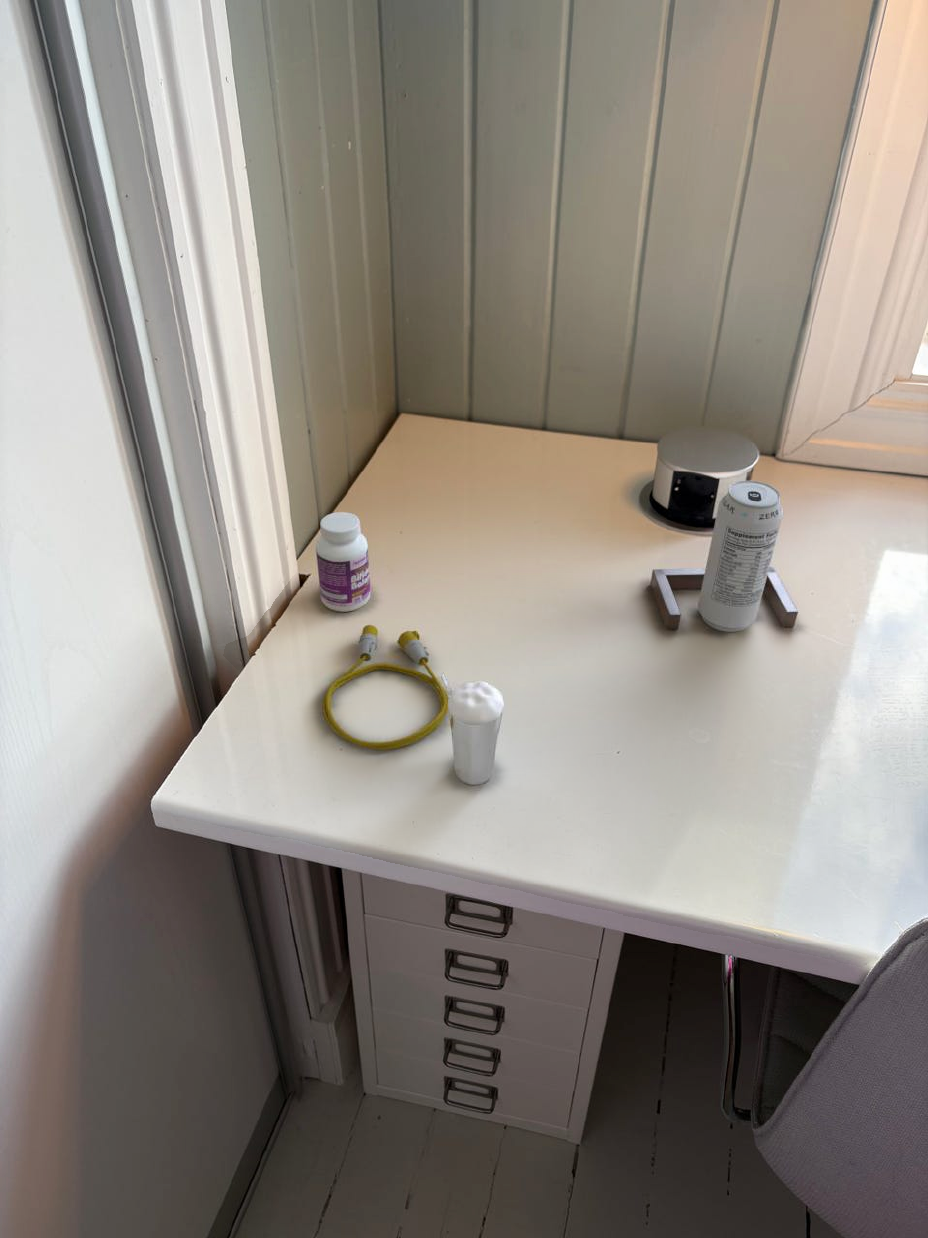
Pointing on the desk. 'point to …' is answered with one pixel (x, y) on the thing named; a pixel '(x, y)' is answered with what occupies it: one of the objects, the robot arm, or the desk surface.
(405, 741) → the extension cord
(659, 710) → the desk surface
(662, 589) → the bay
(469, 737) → the milkshake
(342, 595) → the pill bottle
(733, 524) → the energy drink can
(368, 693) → the desk surface
